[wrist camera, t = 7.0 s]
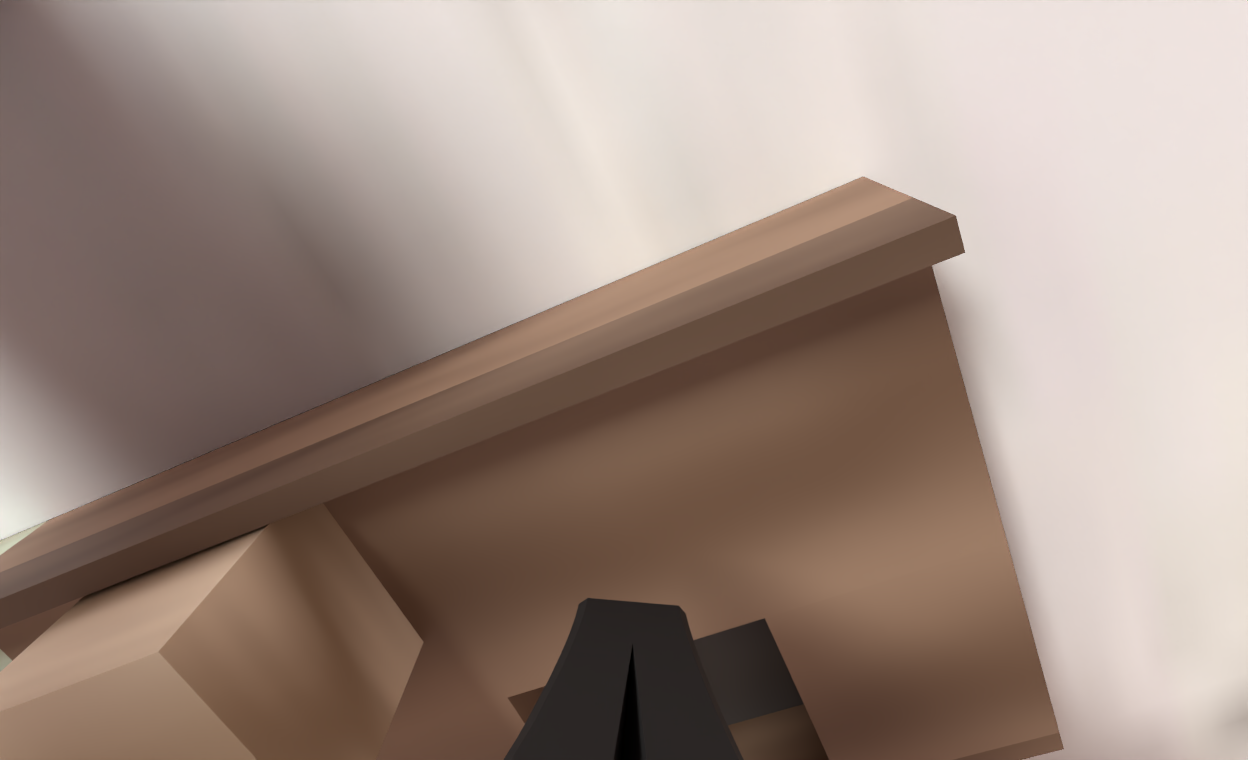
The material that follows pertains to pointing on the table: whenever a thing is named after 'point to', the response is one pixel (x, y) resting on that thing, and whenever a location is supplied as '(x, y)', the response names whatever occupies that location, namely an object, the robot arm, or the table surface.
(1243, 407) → the table surface
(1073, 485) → the table surface
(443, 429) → the trap box
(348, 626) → the maple block
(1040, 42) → the table surface
